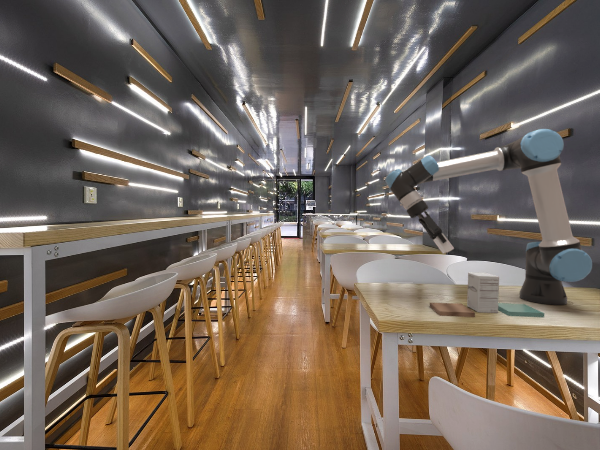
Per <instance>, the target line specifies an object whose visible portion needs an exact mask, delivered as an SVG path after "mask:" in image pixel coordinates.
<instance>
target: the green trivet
mask: <svg viewBox="0 0 600 450" xmlns="http://www.w3.org/2000/svg"><path fill="white" fill-rule="evenodd" d="M498 312H501V313H502V314H504V315H506V316H508V317H521V318H523V317H526V318H545V312H543V311H541V310H539V309H536V308H534V307H532V306H530V305H527V304H525V303H511V302H510V303H508V302H506V303H505V302H498Z"/></svg>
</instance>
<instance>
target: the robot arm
mask: <svg viewBox="0 0 600 450" xmlns="http://www.w3.org/2000/svg"><path fill="white" fill-rule="evenodd" d="M564 144H565V143H564V139H563V137H562V136H561V135H560V133H558V132H557V131H554V130H552V129H548V128H539V129H537V130H533V131H529V132H527V133H526V134H525V135H524V136H522V137H520V138H518V139H517V140H514V141H512V142H510V143H508V144H505V145H502V146H497V147H495V148H494V150H490V151H487V152H480V153H477V154H476V153H475V154H471V155H466V156H465V155H464V156H461V157H456V158H451V159H447V160H441V161H437V160H436V159H435V158H434V157H433V156H432V155H426V156H424V157H423V158H420V160H419V161H416V162H415V163H414V164H413V165H411V166H410V167H408V168H407V169H405V170H402V169H400V168H396V169H395V170H393V171H391V172H389V173H388V175H386V177H385V179H384V181H385V184H386V185H387V187H388V189H389V190H390V191H391V193H392V194H393V195H394V196H395V198H396V199H397V201H398V202H400V204H399V205H400V207H403V208H404V209H405V210H406V213H407V214H408V216H409V217H410V218H411V219H414V218H417V217H418V223H420V224H421V226H422V228H424V230H425V231H426V233H427V234H428V236H429V238H430V239H432V241H433V242H434V243H435V245H436V246H437V247H438V249H439V251H440V252H441V254H442V255H443V254H445V253H450V252H451V251H453V250H454V249H455V248H454V246H453V245H452V244H451V242H450V241H449V239H448V238H447V237H446V235H445V234H444V233H443V231H442V230H443V229H441V228H440V227H439V225H438V224H437V223H436V222H435V220H434V219H433V218H432V217H431V215H430V214H429V213H428V212H427V210H428V209H429V206H428V204H427V203H426V201H425V200H423V198H422V196H421V194H420V193H419V192H418V191H417V189H416V188H415V187H418V185H421V184H424V183H428V182H435V181H440V180H446V179H450V178H456V177H460V176H461V177H462V176H465V175H471V174H476V173H483V172H487V171H492V170H493V171H495V170H497V171H499V172H501V171H507V170H517V169H520V171H521V174H523V175H525V176H526V177H527V181H528V183H529V187H530V193H531V196H532V197H531V198H532V201H533V205H534V208H535V209H534V210H535V212H536V213H535V214H536V217H537V220H538V225H539V230H540V236H541V241H533V242H528V243H527V244H526V247H525V248H526V249H525V279H524V281H523V283H522V286H521V288H520V291H519V298H520V299H521V300H524V301H528V302H532V303H537V304H544V305H554V306H555V305H556V306H561V305H566V304H568V297H567V293H566V290H565V288H564V285H563V282H569V283H575V282H579V281H582V280H584V279H585V278H586V277H588V275H589V274H590V273H591V272H592V269H593V261H592V258H591V256H590V255H589V254H588V253H587V252H586V251H584V250H583V249H582V245H581V242H580V239H578V238H576V237H574V235H573V233H572V228H571V227H572V226H571V224H570V218H569V215H568V211H567V206H566V202H565V199H564V194H563V191H562V190H563V189H562V186H561V182H560V177H559V173H558V169H559V168H560V166H561V165H562V161H561V156H560V155H561V154H562V152H563V150H564V146H565V145H564Z"/></svg>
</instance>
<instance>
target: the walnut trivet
mask: <svg viewBox="0 0 600 450" xmlns="http://www.w3.org/2000/svg"><path fill="white" fill-rule="evenodd" d="M429 308H431V310H432V311H434V312H435V313H436V314H437V315H438V316H439V317H440V316H441V317H464V318H476V311H473V309H471V308H470V307H467V306H466V305H465V304H463V303H455V302H453V303H452V302H429Z"/></svg>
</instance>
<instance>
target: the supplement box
mask: <svg viewBox="0 0 600 450" xmlns="http://www.w3.org/2000/svg"><path fill="white" fill-rule="evenodd" d="M499 292H500V276H498V275H495V274H492V273H489V272H471V271H470V272H467V297H466V301H467V302H466V305H467V306H466V307H467V308H469V309H471V310H472V311H473V310H474V312H477V313H491V314H492V313H494V314H495V313H499V310H498V303H499V300H500V299H499V295H500V293H499Z"/></svg>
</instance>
